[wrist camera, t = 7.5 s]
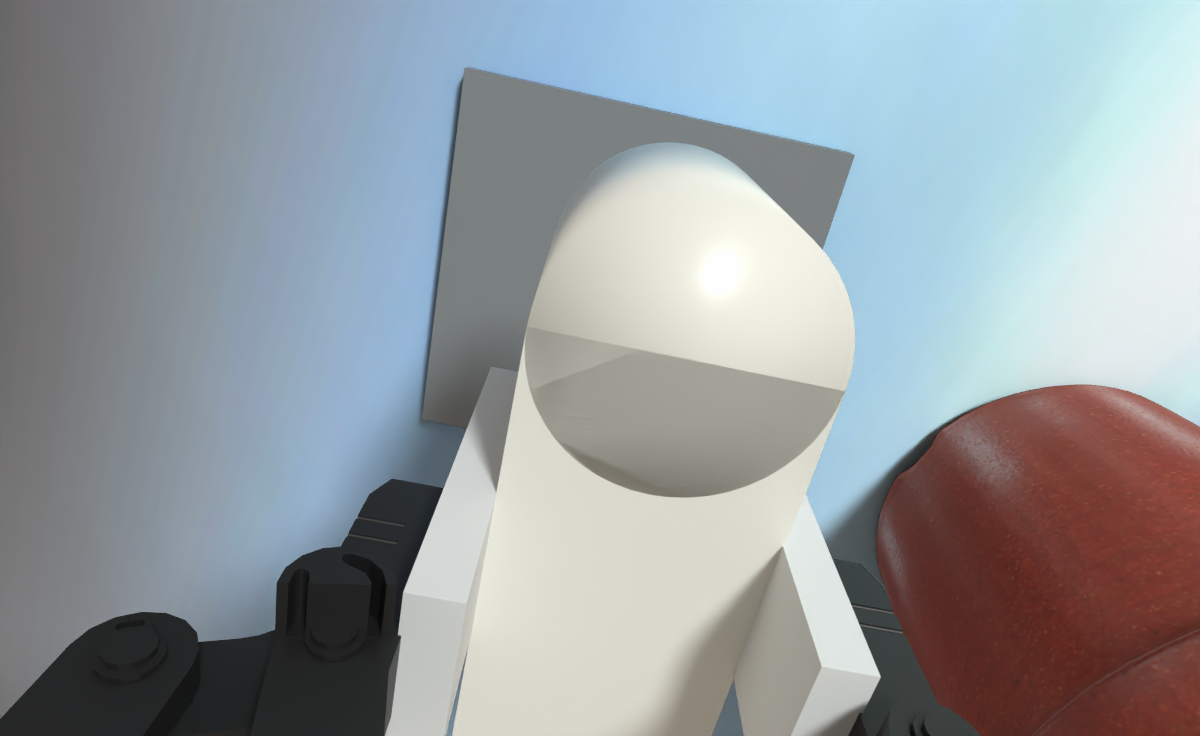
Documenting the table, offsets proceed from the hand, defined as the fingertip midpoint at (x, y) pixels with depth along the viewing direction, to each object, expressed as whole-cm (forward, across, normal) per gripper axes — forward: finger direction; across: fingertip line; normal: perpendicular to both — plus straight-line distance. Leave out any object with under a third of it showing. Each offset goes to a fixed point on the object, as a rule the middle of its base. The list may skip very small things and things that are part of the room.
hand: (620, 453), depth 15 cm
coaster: (+11, 0, 0) cm, 11 cm away
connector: (+1, 0, 0) cm, 1 cm away
